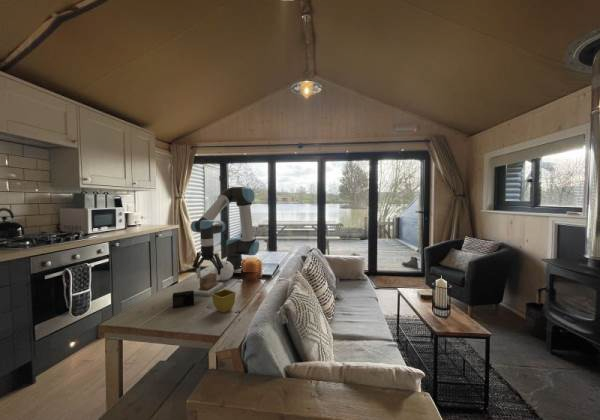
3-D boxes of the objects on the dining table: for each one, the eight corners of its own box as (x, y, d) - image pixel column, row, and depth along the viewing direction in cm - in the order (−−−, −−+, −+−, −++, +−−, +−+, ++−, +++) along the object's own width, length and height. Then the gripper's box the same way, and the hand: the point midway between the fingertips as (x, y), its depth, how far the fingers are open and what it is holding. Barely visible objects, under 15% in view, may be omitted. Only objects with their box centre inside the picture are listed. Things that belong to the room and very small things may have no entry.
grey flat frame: (208, 283, 182) (208, 280, 181) (227, 285, 178) (227, 282, 178) (188, 294, 162) (188, 291, 162) (209, 296, 159) (209, 293, 159)
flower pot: (222, 315, 134) (221, 297, 134) (211, 311, 140) (211, 293, 139) (236, 309, 141) (236, 292, 141) (225, 305, 147) (225, 288, 146)
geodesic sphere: (242, 271, 190) (233, 254, 193) (227, 276, 178) (217, 258, 182) (230, 280, 196) (222, 264, 200) (215, 286, 185) (206, 268, 188)
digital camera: (172, 309, 142) (172, 296, 142) (173, 305, 147) (172, 292, 147) (194, 306, 146) (193, 293, 145) (194, 302, 151) (193, 290, 150)
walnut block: (200, 291, 165) (199, 278, 165) (210, 285, 176) (210, 272, 175) (206, 291, 164) (206, 278, 164) (216, 285, 175) (216, 273, 174)
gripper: (185, 245, 168) (187, 279, 169) (222, 247, 161) (223, 282, 163) (193, 243, 175) (194, 275, 177) (228, 244, 169) (229, 278, 170)
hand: (208, 279), depth 170 cm, fingers open, 13 cm apart
